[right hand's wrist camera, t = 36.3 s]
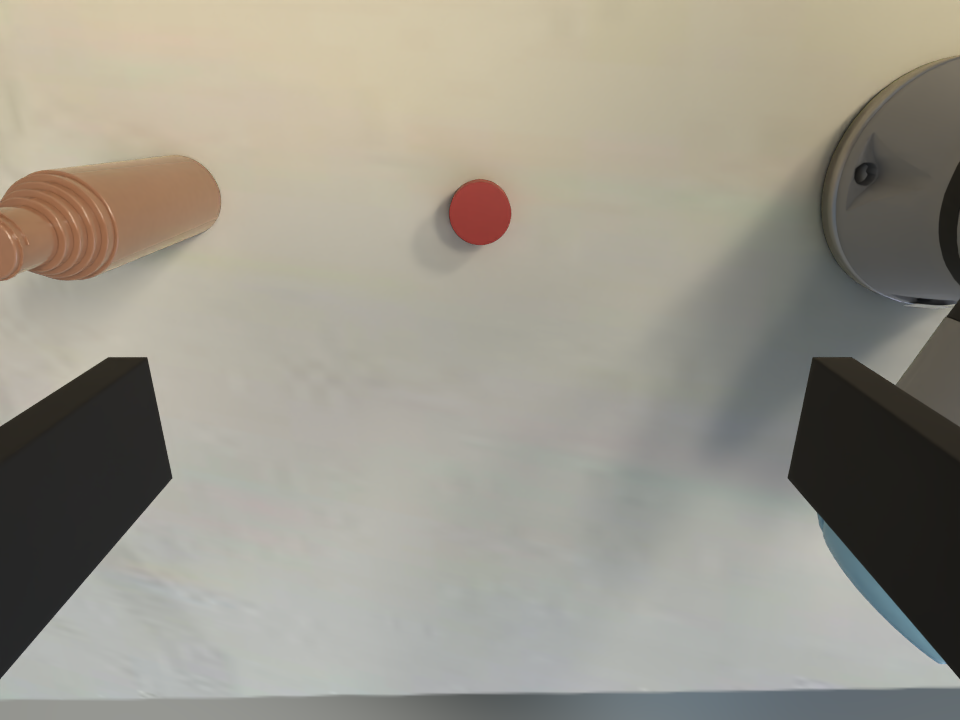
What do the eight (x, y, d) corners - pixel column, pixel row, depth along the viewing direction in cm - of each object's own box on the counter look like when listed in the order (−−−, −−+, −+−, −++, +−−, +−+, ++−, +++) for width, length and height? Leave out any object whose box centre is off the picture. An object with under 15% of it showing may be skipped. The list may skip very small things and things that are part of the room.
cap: (501, 171, 40) (502, 174, 38) (515, 230, 42) (517, 235, 40) (443, 188, 41) (441, 191, 39) (460, 246, 42) (458, 252, 40)
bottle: (235, 217, 41) (74, 282, 25) (169, 246, 42) (-30, 328, 26) (194, 142, 39) (-8, 158, 23) (126, 173, 40) (-117, 211, 24)
